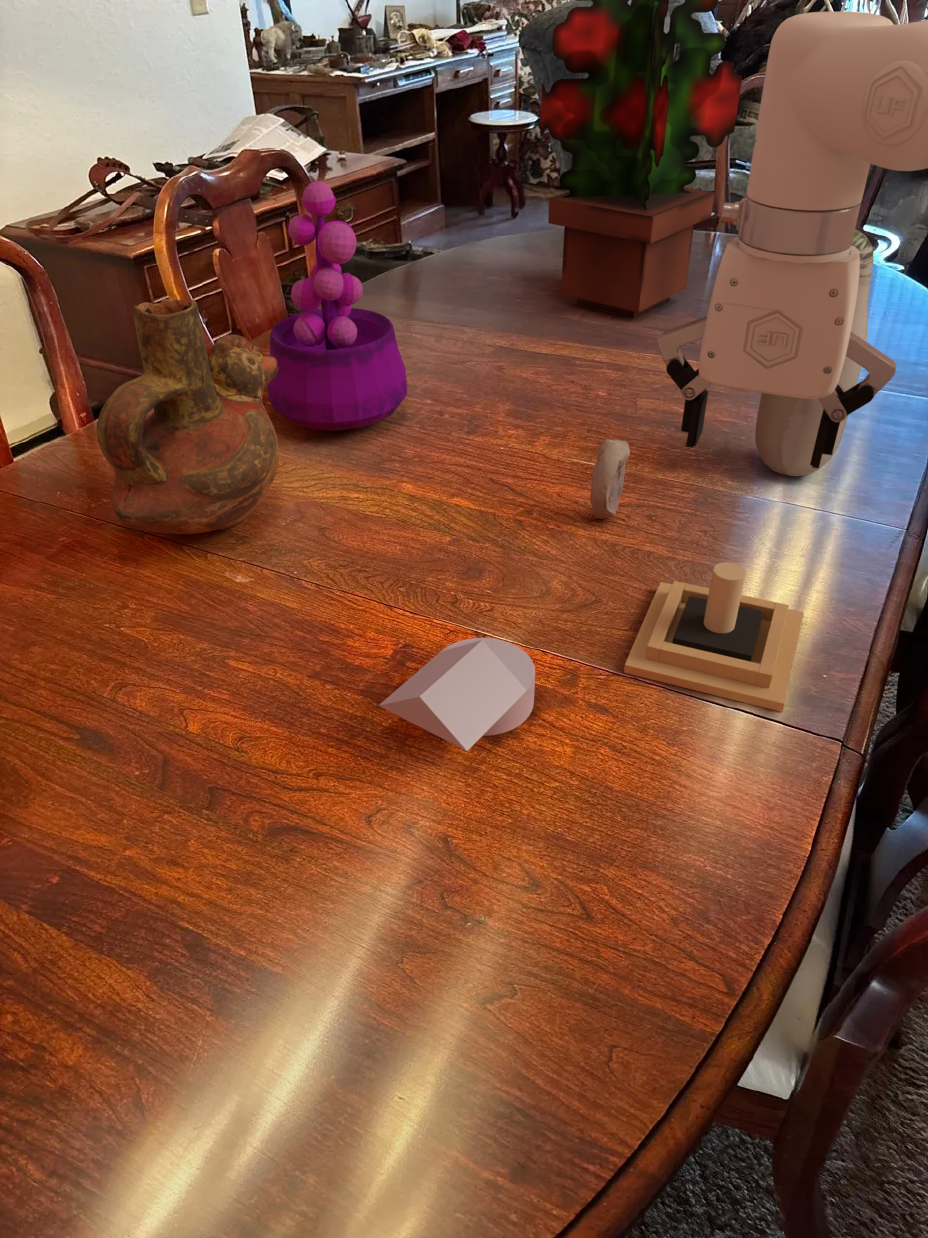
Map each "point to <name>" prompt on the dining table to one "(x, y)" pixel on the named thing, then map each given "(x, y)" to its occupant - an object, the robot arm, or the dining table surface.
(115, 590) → the dining table surface
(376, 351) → the decorative plant
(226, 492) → the ceramic vessel
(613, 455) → the fossil
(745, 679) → the base pad
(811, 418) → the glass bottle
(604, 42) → the potted plant
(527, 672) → the wedge on round base
